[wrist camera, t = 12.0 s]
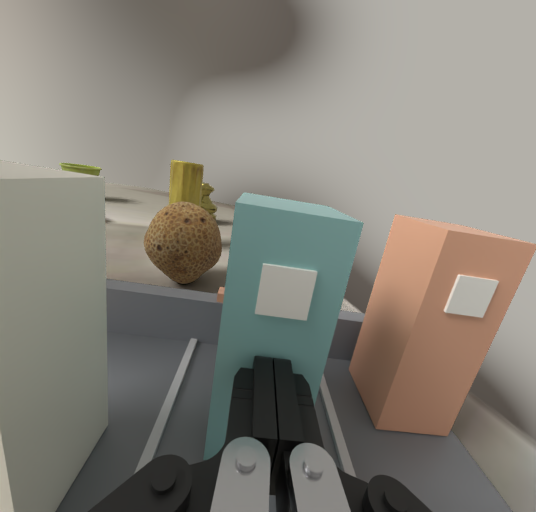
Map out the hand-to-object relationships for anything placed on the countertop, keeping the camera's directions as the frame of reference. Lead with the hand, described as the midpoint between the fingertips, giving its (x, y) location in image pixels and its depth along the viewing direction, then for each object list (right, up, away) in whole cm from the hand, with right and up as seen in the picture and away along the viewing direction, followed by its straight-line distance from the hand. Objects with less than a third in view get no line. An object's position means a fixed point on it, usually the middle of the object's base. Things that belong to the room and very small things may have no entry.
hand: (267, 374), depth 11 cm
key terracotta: (+8, -5, +7) cm, 12 cm away
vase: (-16, +7, +38) cm, 42 cm away
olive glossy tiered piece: (-18, +14, +60) cm, 64 cm away
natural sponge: (-11, +2, +23) cm, 25 cm away
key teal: (-1, -4, +4) cm, 6 cm away
